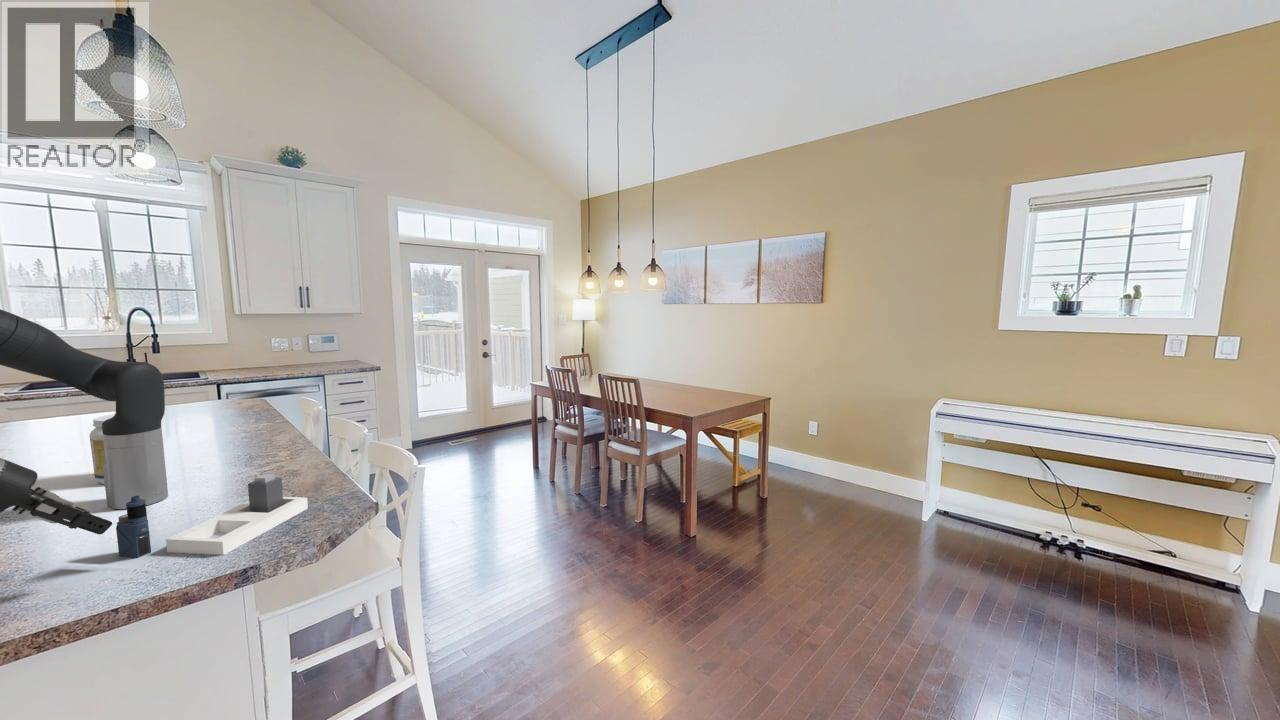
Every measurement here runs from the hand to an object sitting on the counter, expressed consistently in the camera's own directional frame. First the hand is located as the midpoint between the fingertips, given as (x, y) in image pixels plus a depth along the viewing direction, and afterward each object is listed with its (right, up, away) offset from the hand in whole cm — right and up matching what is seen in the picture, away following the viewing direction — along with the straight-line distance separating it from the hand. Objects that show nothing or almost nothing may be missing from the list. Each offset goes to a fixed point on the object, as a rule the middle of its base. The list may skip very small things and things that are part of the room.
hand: (95, 522), depth 79 cm
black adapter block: (+13, -6, +21) cm, 25 cm away
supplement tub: (-43, -4, +44) cm, 62 cm away
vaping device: (+2, -9, +5) cm, 10 cm away
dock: (+13, -7, +15) cm, 21 cm away
